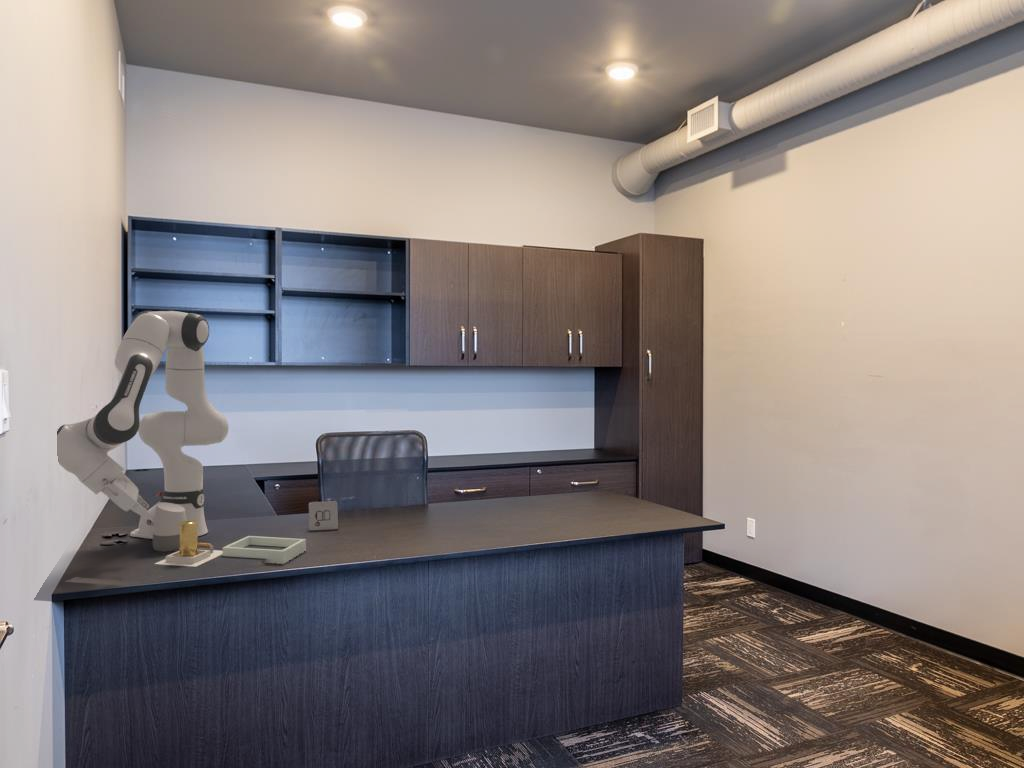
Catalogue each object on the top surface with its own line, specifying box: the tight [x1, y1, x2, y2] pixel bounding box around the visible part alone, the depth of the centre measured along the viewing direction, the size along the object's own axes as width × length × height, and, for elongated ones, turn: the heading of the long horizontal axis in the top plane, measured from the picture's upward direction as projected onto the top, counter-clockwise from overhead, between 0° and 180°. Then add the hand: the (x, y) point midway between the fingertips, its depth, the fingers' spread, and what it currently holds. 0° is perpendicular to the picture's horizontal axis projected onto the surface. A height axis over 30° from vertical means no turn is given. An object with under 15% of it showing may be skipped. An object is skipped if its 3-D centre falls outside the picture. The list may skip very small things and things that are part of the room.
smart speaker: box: [152, 502, 187, 553], centre depth 204 cm, size 10×9×14 cm
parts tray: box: [221, 535, 307, 565], centre depth 202 cm, size 18×14×4 cm
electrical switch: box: [308, 500, 339, 532], centre depth 237 cm, size 9×5×9 cm, turn 110°
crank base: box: [154, 542, 223, 567], centre depth 195 cm, size 12×16×4 cm
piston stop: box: [179, 521, 198, 557], centre depth 192 cm, size 4×4×10 cm
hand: (147, 512), depth 188 cm, fingers open, 8 cm apart
